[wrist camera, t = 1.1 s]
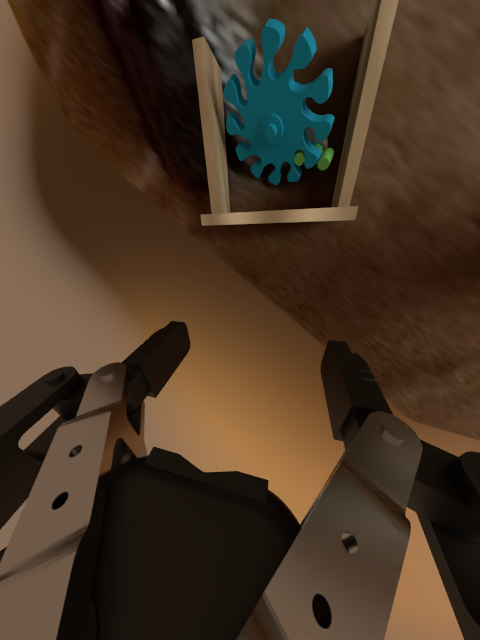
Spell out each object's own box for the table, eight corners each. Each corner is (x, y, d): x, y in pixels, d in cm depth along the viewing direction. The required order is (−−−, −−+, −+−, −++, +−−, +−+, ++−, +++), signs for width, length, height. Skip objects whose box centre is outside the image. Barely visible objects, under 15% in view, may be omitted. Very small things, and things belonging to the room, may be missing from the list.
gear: (214, 150, 19) (234, -25, 10) (238, 114, 20) (278, -79, 11) (292, 211, 22) (372, 116, 12) (310, 175, 23) (398, 62, 13)
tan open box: (379, 27, 14) (438, -101, 8) (338, 217, 21) (355, 219, 15) (211, 71, 17) (170, 4, 12) (223, 221, 24) (202, 225, 18)
